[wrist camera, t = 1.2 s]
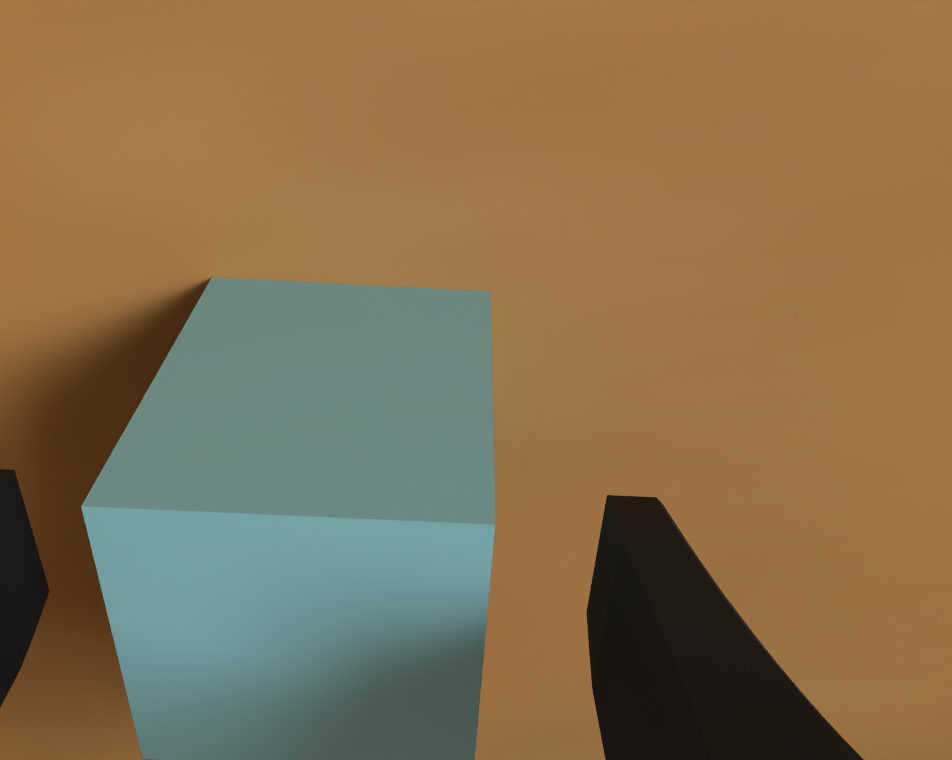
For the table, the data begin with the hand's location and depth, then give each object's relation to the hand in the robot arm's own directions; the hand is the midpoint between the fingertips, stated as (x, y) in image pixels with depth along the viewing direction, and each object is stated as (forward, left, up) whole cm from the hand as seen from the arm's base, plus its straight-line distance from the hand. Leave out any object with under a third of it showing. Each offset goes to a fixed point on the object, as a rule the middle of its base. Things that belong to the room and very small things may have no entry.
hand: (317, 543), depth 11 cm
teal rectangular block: (0, 0, -3) cm, 3 cm away
